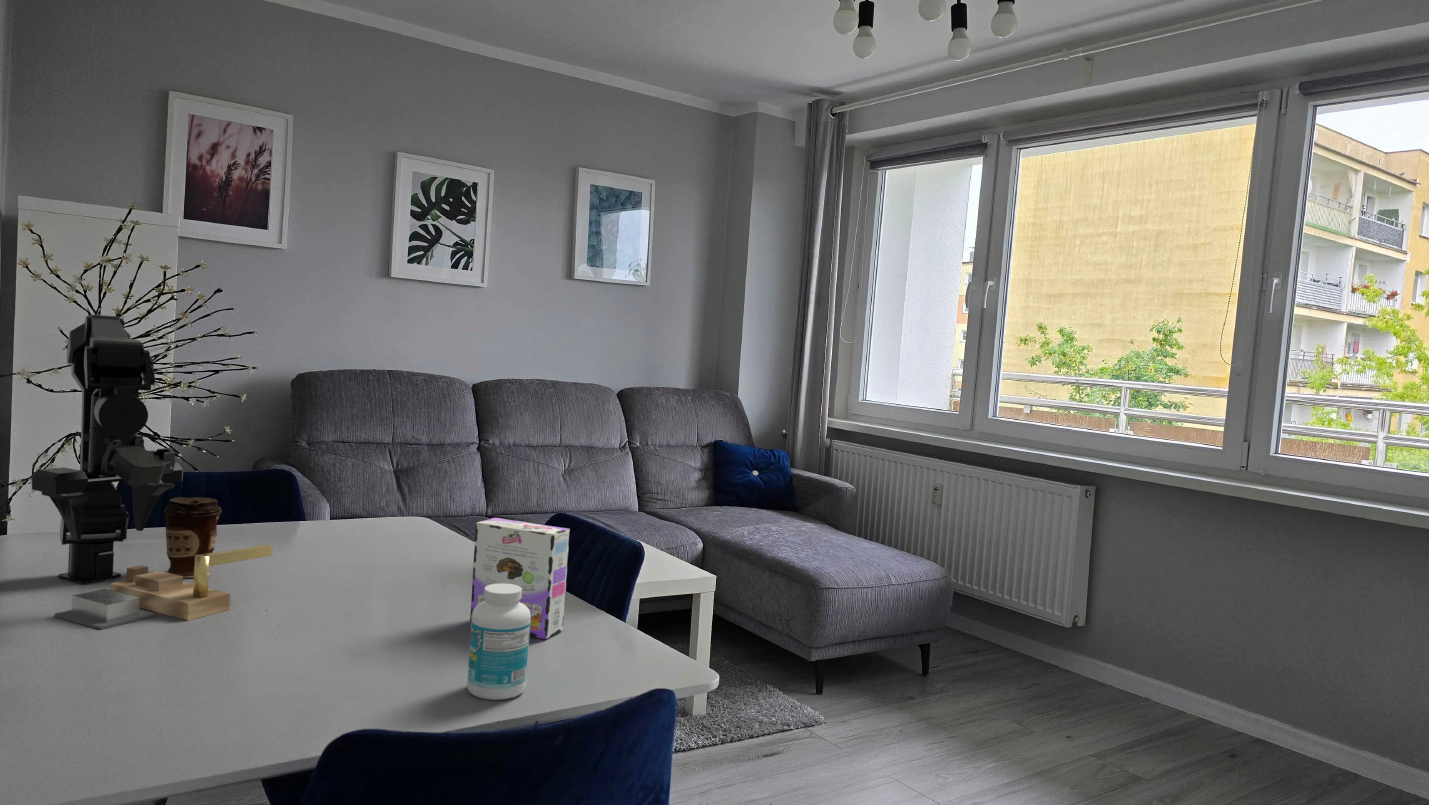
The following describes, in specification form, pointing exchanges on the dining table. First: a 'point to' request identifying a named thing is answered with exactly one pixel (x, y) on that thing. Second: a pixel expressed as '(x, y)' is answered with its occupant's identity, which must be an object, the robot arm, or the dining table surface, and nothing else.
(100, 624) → the mat
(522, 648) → the pill bottle
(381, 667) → the dining table surface
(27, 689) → the dining table surface
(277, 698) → the dining table surface
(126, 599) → the grey flat block
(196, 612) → the latch plate
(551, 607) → the candy box
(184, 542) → the brown jar
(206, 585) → the latch lever
